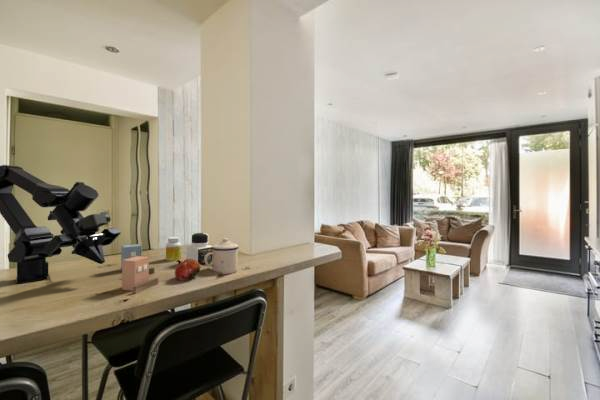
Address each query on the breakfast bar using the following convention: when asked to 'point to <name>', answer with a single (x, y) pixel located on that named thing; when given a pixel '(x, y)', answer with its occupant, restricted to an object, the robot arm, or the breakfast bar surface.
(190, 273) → the pomegranate
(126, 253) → the blue block
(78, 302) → the breakfast bar surface
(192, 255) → the medicine bottle
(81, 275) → the breakfast bar surface
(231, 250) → the teacup with lid
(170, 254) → the supplement bottle
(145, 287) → the plinth
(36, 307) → the breakfast bar surface
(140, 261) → the pink box
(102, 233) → the robot arm
